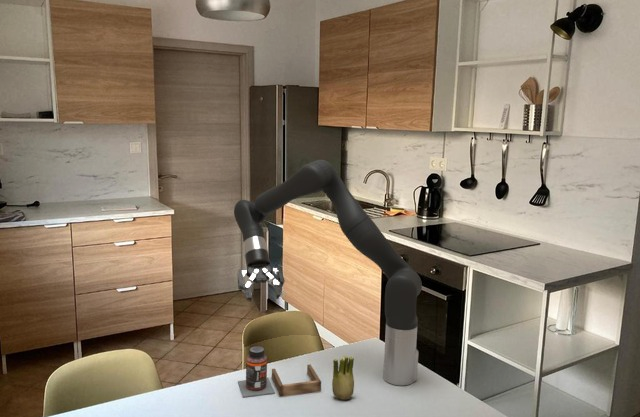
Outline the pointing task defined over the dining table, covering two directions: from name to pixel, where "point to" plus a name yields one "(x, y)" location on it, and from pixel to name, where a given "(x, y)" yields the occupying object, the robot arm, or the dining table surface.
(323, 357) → the dining table surface
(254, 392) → the slate mat
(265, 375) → the supplement bottle
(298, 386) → the walnut stall
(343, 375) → the fennel bulb
